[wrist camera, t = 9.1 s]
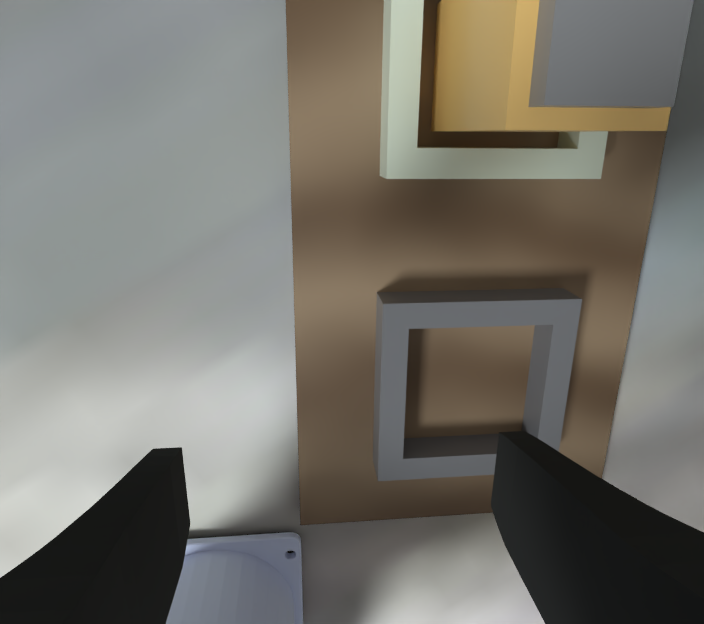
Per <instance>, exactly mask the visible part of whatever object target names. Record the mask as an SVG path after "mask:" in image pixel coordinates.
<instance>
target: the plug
mask: <svg viewBox="0 0 704 624" xmlns="http://www.w3.org/2000/svg"><path fill="white" fill-rule="evenodd" d="M693 2H694V0H441V1H440V2H439V3H438V4H437V21H436V41H435V62H434V82H433V102H432V123H431V131H450V132H596V131H667V126H668V121H669V116H670V110H671V107H674V104H675V99H676V93H677V88H678V83H679V77H680V72H681V66H682V61H683V56H684V50H685V45H686V40H687V34H688V29H689V23H690V18H691V13H692V7H693Z"/></svg>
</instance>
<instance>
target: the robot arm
mask: <svg viewBox="0 0 704 624" xmlns="http://www.w3.org/2000/svg"><path fill="white" fill-rule="evenodd" d="M491 508H492V510H493V513H494V516H495V519H496V522H497V525H498V528H499V530H500V533H501V536H502V538H503V541H504V544H505V546H506V548H507V550H508V552H509V554H510V556H511V558H512V560H513V562H514V564H515V566H516V568H517V570H518V572H519V574H520V576H521V578H522V580H523V582H524V584H525V585H526V587H527V589H528V591H529V593H530V595H531V597H532V599H533V601H534V603H535V605H536V607H537V608H538V610H539V612H540V614H541V616H542V618H543V620H544V622H545V624H704V533H703V532H701V531H699V530H697V529H695V528H692V527H690V526H688V525H686V524H684V523H682V522H680V521H678V520H676V519H674V518H672V517H670V516H668V515H665V514H663V513H662V512H660V511H658V510H656V509H654V508H652V507H650V506H648V505H646V504H644V503H643V502H641V501H639V500H637V499H636V498H634V497H632V496H630V495H628V494H627V493H625V492H623V491H621V490H620V489H618V488H616V487H614V486H613V485H611V484H609V483H608V482H606V481H604V480H603V479H601V478H599V477H598V476H596V475H595V474H593V473H591V472H590V471H588V470H587V469H585V468H583V467H582V466H580V465H579V464H577V463H576V462H574V461H572V460H571V459H569V458H568V457H566V456H565V455H563V454H562V453H560V452H558V451H557V450H555V449H554V448H552V447H551V446H549V445H547V444H546V443H544V442H543V441H541V440H539V439H538V438H536V437H534V436H533V435H531V434H529V433H527V432H525V431H513V432H499V437H498V446H497V454H496V463H495V472H494V480H493V489H492V497H491ZM189 528H190V517H189V509H188V500H187V491H186V482H185V473H184V464H183V455H182V447H181V448H161V449H152V450H151V451H150V452H149V453H148V454H147V455H146V456H145V457H144V458H143V459H142V460H141V461H140V462H139V463H138V464H137V465H136V466H134V467H133V468H132V469H131V470H130V471H129V472H128V473H127V474H126V475H125V476H124V477H123V478H122V479H121V480H120V481H119V482H118V483H117V484H116V485H115V486H114V487H113V488H112V489H110V490H109V491H108V492H107V493H106V494H105V495H104V496H103V497H102V498H101V499H100V500H99V501H97V502H96V503H95V504H94V505H93V506H92V507H91V508H90V509H88V510H87V511H86V512H85V513H84V514H83V515H81V516H80V517H79V518H78V519H77V520H75V521H74V522H73V523H72V524H71V525H70V526H68V527H67V528H66V529H65V530H64V531H62V532H61V533H60V534H59V535H58V536H57V537H55V538H54V539H53V540H52V541H50V542H49V543H48V544H46V545H45V546H44V547H43V548H41V549H40V550H39V551H37V552H36V553H35V554H33V555H32V556H31V557H29V558H28V559H26V560H25V561H24V562H22V563H21V564H19V565H18V566H17V567H15V568H14V569H12V570H11V571H10V572H8V573H7V574H5V575H4V576H2V577H1V578H0V624H303V595H302V559H301V538H300V536H299V535H298V534H296V533H293V532H285V533H271V534H256V535H241V536H226V537H211V538H197V539H188V534H189ZM290 550H291V551H294V552H293V553H287V551H290Z"/></svg>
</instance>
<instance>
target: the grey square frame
mask: <svg viewBox="0 0 704 624" xmlns="http://www.w3.org/2000/svg"><path fill="white" fill-rule="evenodd" d="M581 304H582V299H581V298H580V297H578V296H576V295H574V294H573V293H571V292H569V291H567V290H566V289H564V288H544V289H498V290H453V291H407V292H377V303H376V344H375V386H374V427H373V463H374V467H375V471H376V476H377V480H378V481H392V480H409V479H426V478H443V477H460V476H477V475H494V472H495V463H496V454H497V446H498V437H499V434H480V435H460V436H441V437H421V438H404V426H405V404H406V382H407V360H408V338H409V329H425V328H459V327H493V326H527V325H535V327H534V335H533V343H532V351H531V359H530V367H529V375H528V383H527V391H526V399H525V407H524V415H523V423H522V430H521V431H525V432H527V433H529V434H531V435H533V436H534V437H536V438H538V439H539V440H541V441H543V442H544V443H546V444H547V445H549V446H551V447H552V448H554V449H555V450H557V451H558V452H559V447H560V441H561V434H562V428H563V421H564V415H565V408H566V402H567V395H568V389H569V382H570V376H571V369H572V363H573V356H574V350H575V343H576V337H577V330H578V324H579V317H580V311H581Z"/></svg>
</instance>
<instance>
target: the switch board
mask: <svg viewBox="0 0 704 624" xmlns="http://www.w3.org/2000/svg"><path fill="white" fill-rule="evenodd" d="M440 1H441V0H424V8H423V30H422V52H421V74H420V96H419V118H418V140H417V147H504V148H557V145H558V137H559V132H450V131H431V123H432V102H433V82H434V62H435V41H436V21H437V4H438V3H439V2H440ZM383 14H384V0H286V24H287V60H288V96H289V132H290V168H291V204H292V240H293V276H294V312H295V347H296V383H297V419H298V455H299V491H300V525H310V524H325V523H340V522H355V521H370V520H385V519H401V518H416V517H431V516H446V515H461V514H476V513H491V512H493V510H492V508H491V497H492V489H493V480H494V475H477V476H460V477H443V478H426V479H409V480H392V481H378V480H377V476H376V471H375V467H374V463H373V427H374V386H375V344H376V303H377V292H407V291H453V290H498V289H544V288H564V289H566V290H567V291H569V292H571V293H573V294H574V295H576V296H578V297H580V298H581V299H582V304H581V311H580V317H579V324H578V330H577V337H576V343H575V350H574V356H573V363H572V369H571V376H570V382H569V389H568V395H567V402H566V408H565V415H564V421H563V428H562V434H561V441H560V447H559V452H560V453H562V454H563V455H565V456H566V457H568V458H569V459H571V460H572V461H574V462H576V463H577V464H579V465H580V466H582V467H583V468H585V469H587V470H588V471H590V472H591V473H593V474H595V475H596V476H598V477H599V478H601V479H602V474H603V468H604V463H605V458H606V452H607V447H608V442H609V436H610V431H611V426H612V421H613V415H614V410H615V405H616V399H617V394H618V389H619V383H620V378H621V373H622V367H623V362H624V357H625V351H626V346H627V341H628V335H629V330H630V325H631V319H632V314H633V309H634V303H635V298H636V293H637V287H638V282H639V277H640V271H641V266H642V261H643V255H644V250H645V245H646V239H647V234H648V229H649V223H650V218H651V213H652V207H653V202H654V197H655V191H656V186H657V181H658V175H659V170H660V165H661V159H662V154H663V149H664V143H665V138H666V133H667V131H608V136H607V142H606V149H605V155H604V162H603V168H602V175H601V179H386V178H383V177H381V176H380V138H381V96H382V55H383ZM670 111H671V110H670ZM669 117H670V116H669ZM668 122H669V121H668ZM667 127H668V126H667ZM534 327H535V325H527V326H493V327H459V328H425V329H409V338H408V360H407V382H406V404H405V426H404V438H421V437H441V436H460V435H480V434H499V432H513V431H521V430H522V423H523V415H524V407H525V399H526V391H527V383H528V375H529V367H530V359H531V351H532V343H533V335H534Z"/></svg>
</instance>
